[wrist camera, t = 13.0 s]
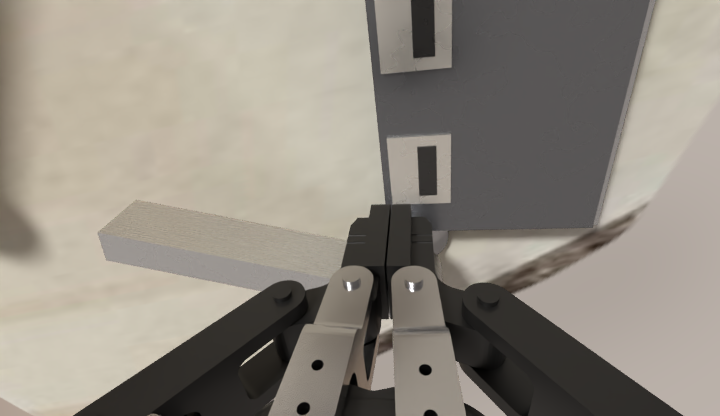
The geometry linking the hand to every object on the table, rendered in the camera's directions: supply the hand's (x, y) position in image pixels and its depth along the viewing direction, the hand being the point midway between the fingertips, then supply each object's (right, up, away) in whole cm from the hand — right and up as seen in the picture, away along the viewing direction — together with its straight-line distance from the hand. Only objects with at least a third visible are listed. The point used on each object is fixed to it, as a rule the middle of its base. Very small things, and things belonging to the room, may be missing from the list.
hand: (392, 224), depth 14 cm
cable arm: (-7, -2, +14) cm, 15 cm away
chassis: (+7, +8, +10) cm, 15 cm away
